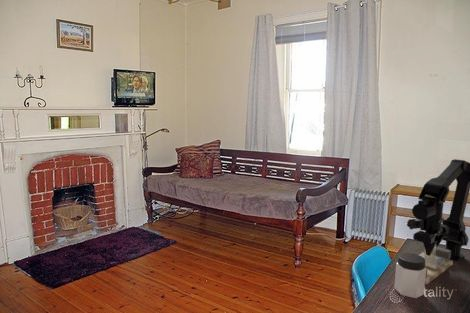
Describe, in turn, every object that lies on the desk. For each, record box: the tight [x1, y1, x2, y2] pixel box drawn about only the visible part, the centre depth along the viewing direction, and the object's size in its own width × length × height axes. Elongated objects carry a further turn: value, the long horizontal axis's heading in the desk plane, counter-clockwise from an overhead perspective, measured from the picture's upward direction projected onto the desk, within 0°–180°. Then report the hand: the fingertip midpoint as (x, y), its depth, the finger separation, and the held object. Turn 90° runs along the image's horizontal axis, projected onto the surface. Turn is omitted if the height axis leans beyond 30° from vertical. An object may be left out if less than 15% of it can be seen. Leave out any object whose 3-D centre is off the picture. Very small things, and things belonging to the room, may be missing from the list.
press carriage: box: [418, 243, 445, 270], centre depth 137 cm, size 8×8×9 cm
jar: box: [394, 252, 426, 299], centre depth 119 cm, size 9×8×12 cm
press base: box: [425, 246, 454, 285], centre depth 136 cm, size 24×10×6 cm, turn 131°
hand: (429, 254), depth 137 cm, fingers closed on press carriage, 3 cm apart
